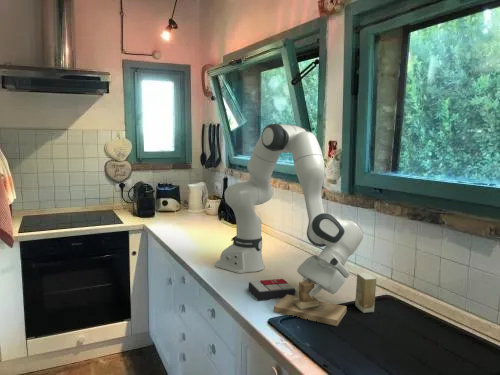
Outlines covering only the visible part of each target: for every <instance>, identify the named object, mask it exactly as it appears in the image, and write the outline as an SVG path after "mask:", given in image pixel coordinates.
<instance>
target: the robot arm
mask: <svg viewBox="0 0 500 375" xmlns="http://www.w3.org/2000/svg"><path fill="white" fill-rule="evenodd" d="M281 153H282V154H283V153H285V154H287V153H288V154H291V156H292V161H293V162H292V163H293V165H294V169H295V173H296V176H297V179H298V182H299V184H300V187H301V190H302V193H303V196H304V197H303V198H304V201H305V207H306V211H307V212H306V213H307V217H308V224H307V229H306V238H307V239H308V241H309V242H310V244H311V245H313V246H315V247H319V248H323V247H324V248H323V249H322V250H321V252H320V253H319V254H318V255H317V254H313V255H311V256H308V257H307V258H306V259H305V260H304V261H303V262H301V264H300V265H299V266H298V268H297V270H296V271H297V273H298V275H300V276H301V277H302V278H303V279H302V282H304V281H310V282H312V283H314V288H313V289H312V290H309V291H308V292H307V294H308V295H309V296H310V297H313V296H314V297H315V295H316V294H318V293H320V292H321V291H322V290H324V291H326V292H328V293H329V294H331V295H334V294H337V293H338V291H339V290H340V289H341V288H342V286H343V285H344V283H345V282H346V279H348V278H349V276H350V275H351V273H350V271H349V270H348V269H347V268H346V266H345V265H346V263H347V261H348V260H349V257H350V256H352V255H353V254H354V253H355V252H356V251H357V249H358V247H359V246H360V245H361V243H362V241H363V239H364V232H363V229H362V228H361V227H360V226H359V225H358V223H356V222H355V221H353V220H350V219H349V220H345V219H342V218H338V217H335V216H334V215H332V214H330V213H325V210H324V204H323V200H322V188H323V183H324V180H325V176H326V167H325V164H326V163H325V160H324V156H323V152H322V148H321V146H320V143H319V142H318V138H317V137H316V136H315V134H314V133H313V132H311V131H310V130H309V129H308V128H305V127H303V126H297V125H294V124H284V123H283V124H279V123H270V124H267V125H266V126H265V127H264V128H263V130H262V133H261V135H260V136H259V138H258V140H257V142H256V144H255V146H254V148H253V151H252V153H251V155H250V157H249V160H248V163H247V165H246V166H247V167H246V168H247V172H248V173H249V174H250V175H249V178H248V180H246V181H242V182H236V183H233V184H231V185H229V186H228V187H227V188H225V191H224V200H225V203H226V205H228V206H229V207H230V208H231V209H232V211H233V213H234V217H235V221H236V224H235V225H236V235H235V236H233V237H231V240H230V242H232V243H231V245H229V246H228V247H226V248H225V249H224V250H222V252H221V253H220V257H219V259H218V260H217V261H216V262H215V263H214V267H216V268H219V269H224V270H226V271H231V272H234V273H237V274H243V273H244V274H245V273H255V272H259V271H262V270H264V268H265V265H264V260H263V254H262V252H263V250H262V249H263V236H262V219H261V217H260V216H259V215H257V214H256V211H255V206H259V205H263V204H265V203H268V201H270V200H271V199H272V198H273V195H274V190H273V187H272V184H271V178H272V175H273V172H274V169H275V167H276V165H277V163H278V160H279V158H280V155H281Z"/></svg>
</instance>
